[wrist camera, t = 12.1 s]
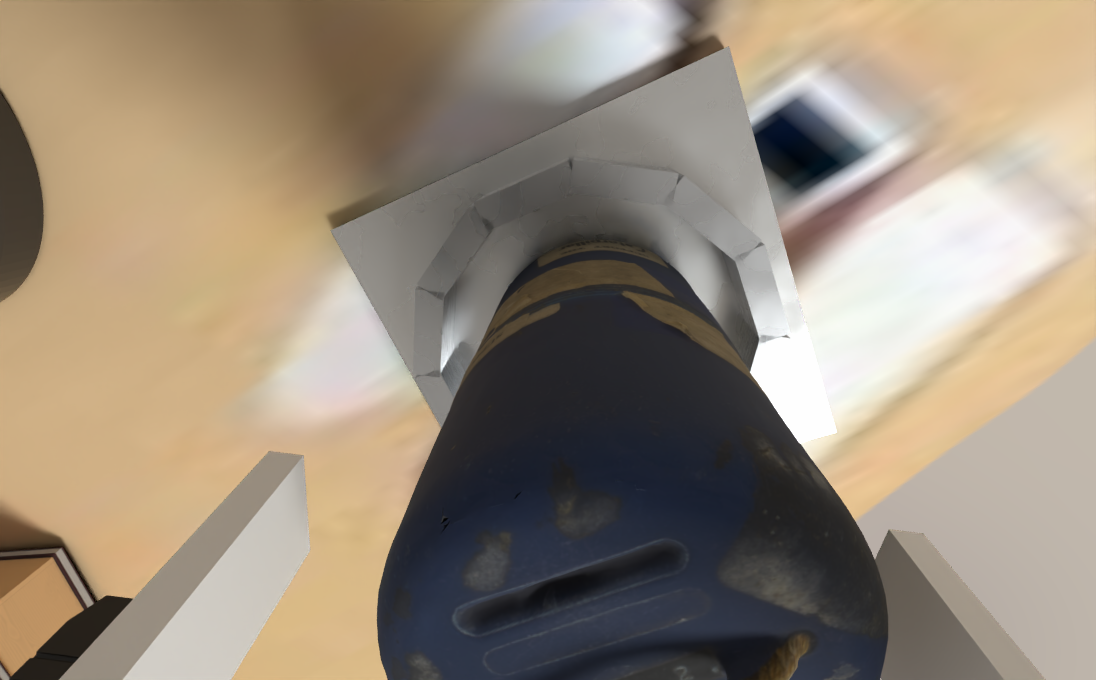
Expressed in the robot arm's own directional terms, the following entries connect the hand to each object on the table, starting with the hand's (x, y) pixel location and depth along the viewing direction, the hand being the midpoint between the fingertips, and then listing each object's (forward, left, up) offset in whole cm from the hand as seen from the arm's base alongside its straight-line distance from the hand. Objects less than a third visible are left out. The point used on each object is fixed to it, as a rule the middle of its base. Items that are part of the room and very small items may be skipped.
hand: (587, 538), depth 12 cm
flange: (0, 0, -14) cm, 14 cm away
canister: (0, 0, -14) cm, 14 cm away
